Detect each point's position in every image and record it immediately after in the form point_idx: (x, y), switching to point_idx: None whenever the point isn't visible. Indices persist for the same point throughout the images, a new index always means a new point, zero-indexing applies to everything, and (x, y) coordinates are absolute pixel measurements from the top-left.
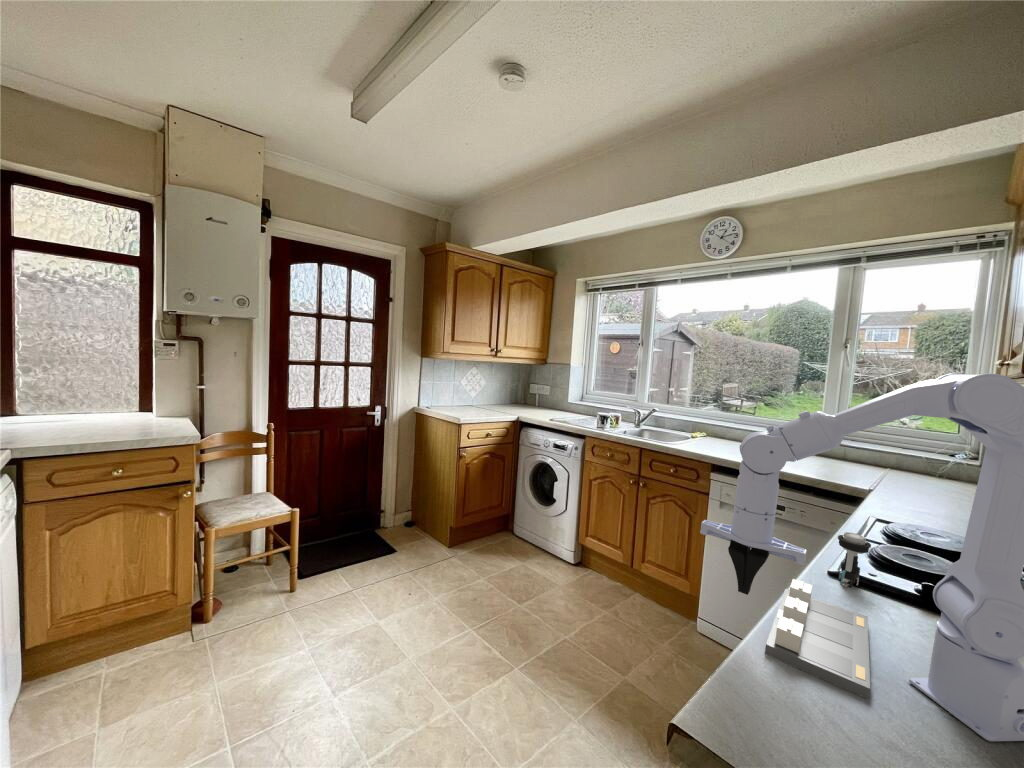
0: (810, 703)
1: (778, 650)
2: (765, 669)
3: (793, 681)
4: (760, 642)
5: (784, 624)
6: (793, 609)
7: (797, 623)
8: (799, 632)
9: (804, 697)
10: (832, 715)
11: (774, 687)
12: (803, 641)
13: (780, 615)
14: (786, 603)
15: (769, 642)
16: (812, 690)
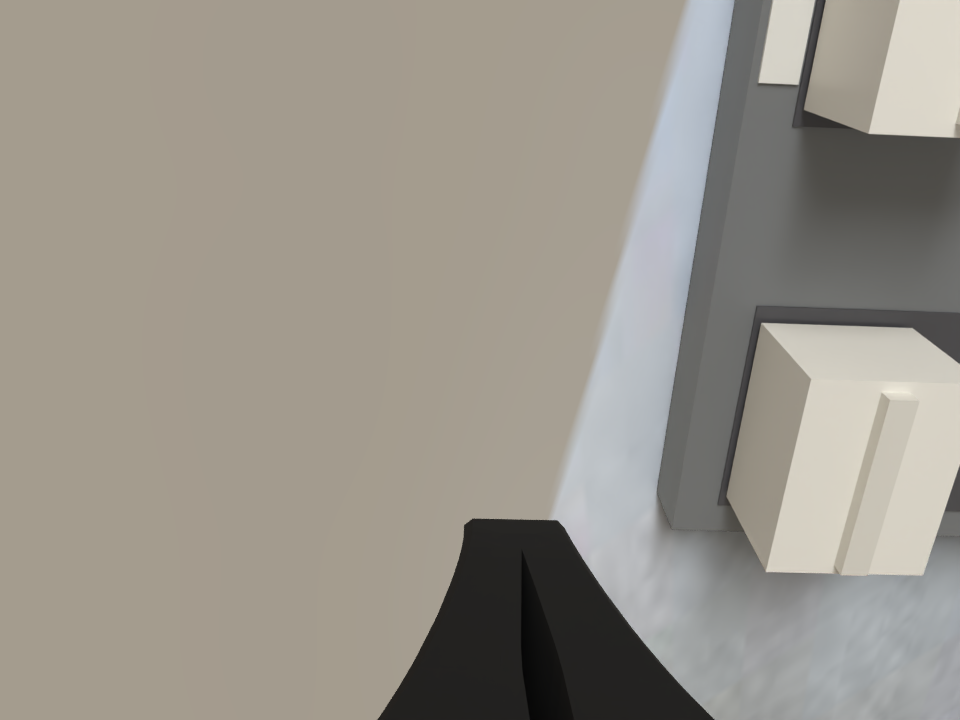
0: (846, 699)
1: (742, 527)
2: (662, 614)
3: (791, 610)
4: (629, 390)
5: (826, 497)
6: (951, 132)
7: (936, 400)
8: (924, 527)
9: (826, 680)
10: (925, 708)
11: (701, 703)
12: (922, 321)
13: (795, 21)
14: (900, 62)
15: (692, 495)
16: (873, 614)
